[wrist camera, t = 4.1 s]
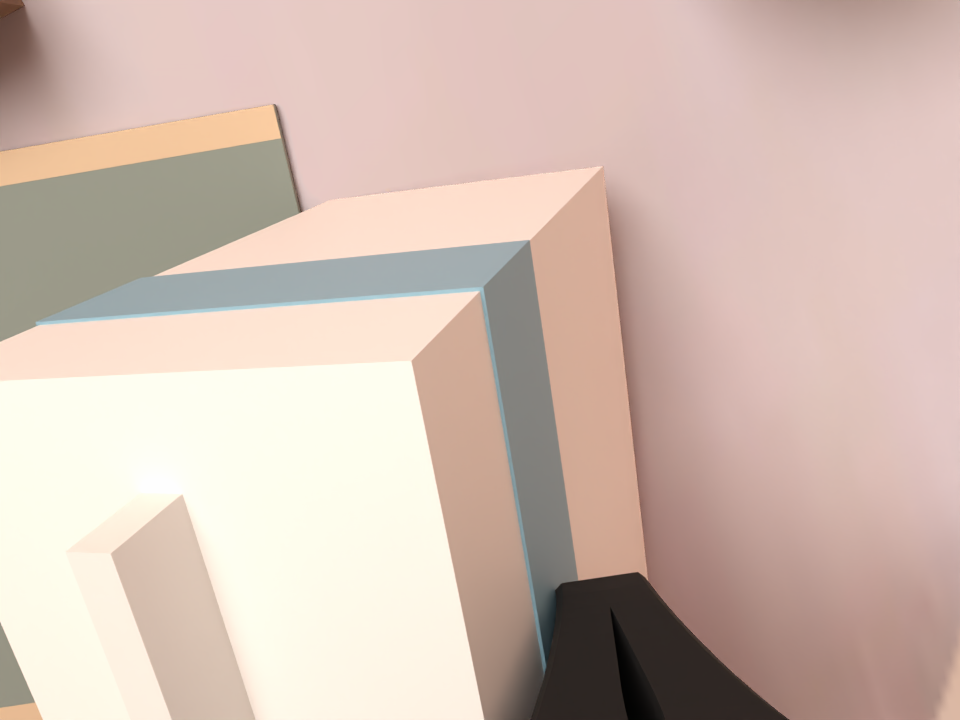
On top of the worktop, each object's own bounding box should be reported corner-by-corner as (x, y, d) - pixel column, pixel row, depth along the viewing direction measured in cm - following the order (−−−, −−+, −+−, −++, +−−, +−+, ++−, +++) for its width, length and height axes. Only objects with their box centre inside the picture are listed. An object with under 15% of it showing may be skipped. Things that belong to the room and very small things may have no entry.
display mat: (407, 662, 26) (406, 668, 25) (-23, 727, 26) (-28, 733, 26) (275, 104, 20) (273, 104, 20) (-273, 198, 20) (-282, 200, 20)
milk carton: (652, 605, 22) (552, 1234, 11) (417, 592, 25) (124, 1100, 13) (605, 163, 18) (363, 408, 7) (328, 197, 21) (-208, 424, 9)
